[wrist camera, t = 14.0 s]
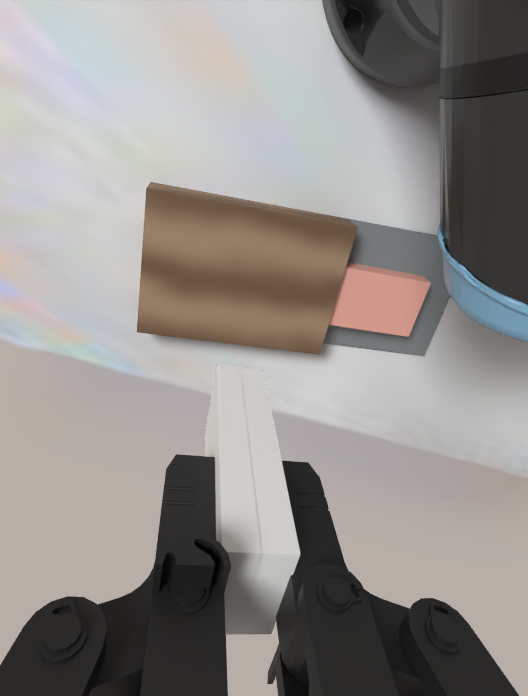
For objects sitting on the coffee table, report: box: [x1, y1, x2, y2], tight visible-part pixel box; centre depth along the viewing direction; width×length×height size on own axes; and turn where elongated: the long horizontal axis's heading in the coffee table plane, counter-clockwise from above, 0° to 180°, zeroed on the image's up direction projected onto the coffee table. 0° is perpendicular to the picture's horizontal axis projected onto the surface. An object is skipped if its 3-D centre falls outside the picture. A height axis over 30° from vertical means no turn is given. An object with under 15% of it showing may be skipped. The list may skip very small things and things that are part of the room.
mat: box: [323, 219, 450, 356], centre depth 44 cm, size 13×13×1 cm
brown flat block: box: [137, 182, 358, 354], centre depth 40 cm, size 13×18×3 cm
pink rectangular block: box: [329, 262, 431, 337], centre depth 43 cm, size 9×6×2 cm, turn 78°
